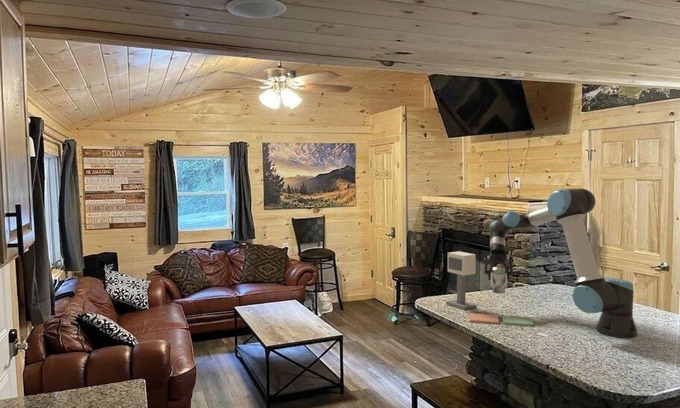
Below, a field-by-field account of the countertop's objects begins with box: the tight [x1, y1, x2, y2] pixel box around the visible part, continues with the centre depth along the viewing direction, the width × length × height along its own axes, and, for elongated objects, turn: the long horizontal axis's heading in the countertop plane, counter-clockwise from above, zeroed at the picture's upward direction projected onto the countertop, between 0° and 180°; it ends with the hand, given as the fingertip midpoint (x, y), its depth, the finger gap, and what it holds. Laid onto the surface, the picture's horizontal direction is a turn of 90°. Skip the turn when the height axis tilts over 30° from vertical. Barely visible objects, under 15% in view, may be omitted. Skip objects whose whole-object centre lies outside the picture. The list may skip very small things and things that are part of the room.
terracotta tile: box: [469, 312, 500, 325], centre depth 235 cm, size 11×13×1 cm
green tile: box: [501, 315, 535, 327], centre depth 231 cm, size 11×13×1 cm
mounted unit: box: [445, 251, 478, 311], centre depth 258 cm, size 9×13×28 cm
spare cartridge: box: [491, 266, 506, 294], centre depth 245 cm, size 6×6×12 cm
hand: (499, 285), depth 242 cm, fingers closed on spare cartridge, 6 cm apart
